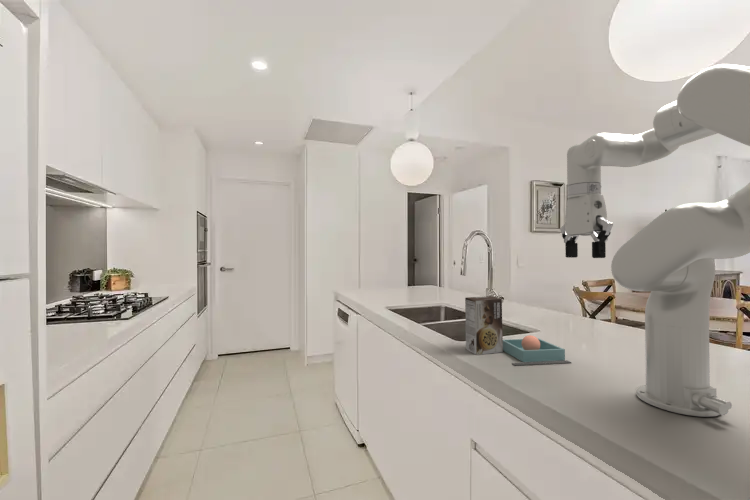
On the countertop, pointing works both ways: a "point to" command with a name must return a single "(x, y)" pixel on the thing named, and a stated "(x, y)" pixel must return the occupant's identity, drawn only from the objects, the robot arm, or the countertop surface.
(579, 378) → the countertop surface
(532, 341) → the ball
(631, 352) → the countertop surface
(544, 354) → the tray
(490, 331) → the coffee box
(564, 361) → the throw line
